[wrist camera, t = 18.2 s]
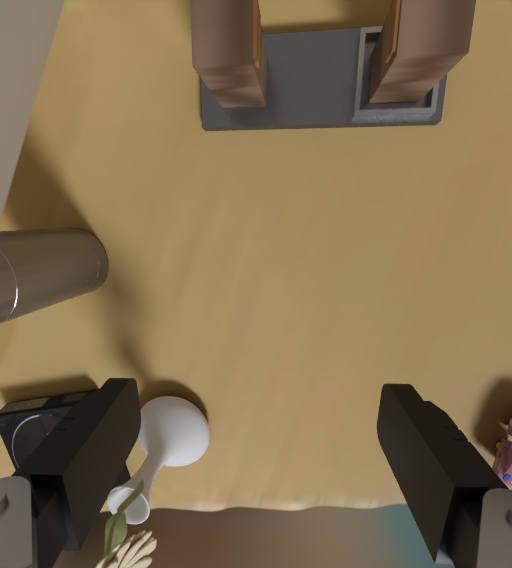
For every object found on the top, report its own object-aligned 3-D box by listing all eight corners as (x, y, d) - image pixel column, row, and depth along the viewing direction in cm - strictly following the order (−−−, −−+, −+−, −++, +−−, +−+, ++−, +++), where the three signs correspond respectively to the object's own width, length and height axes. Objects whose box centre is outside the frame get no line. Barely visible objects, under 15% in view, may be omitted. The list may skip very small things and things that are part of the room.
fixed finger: (222, 107, 35) (192, 66, 25) (222, 58, 34) (190, -6, 24) (268, 106, 34) (256, 62, 24) (269, 55, 33) (256, -12, 23)
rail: (205, 131, 37) (199, 125, 35) (204, 46, 35) (196, 33, 33) (434, 124, 34) (445, 117, 31) (446, 30, 32) (459, 14, 29)
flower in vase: (184, 468, 48) (68, 719, 24) (128, 422, 48) (-46, 631, 24) (235, 417, 45) (158, 648, 21) (175, 367, 45) (28, 545, 21)
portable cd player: (100, 385, 48) (83, 400, 44) (132, 477, 51) (119, 499, 47) (15, 398, 51) (-9, 413, 47) (50, 484, 54) (30, 505, 50)
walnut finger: (365, 103, 33) (392, 56, 23) (369, 50, 32) (400, -23, 22) (417, 101, 32) (468, 52, 22) (424, 47, 31) (480, -30, 21)
